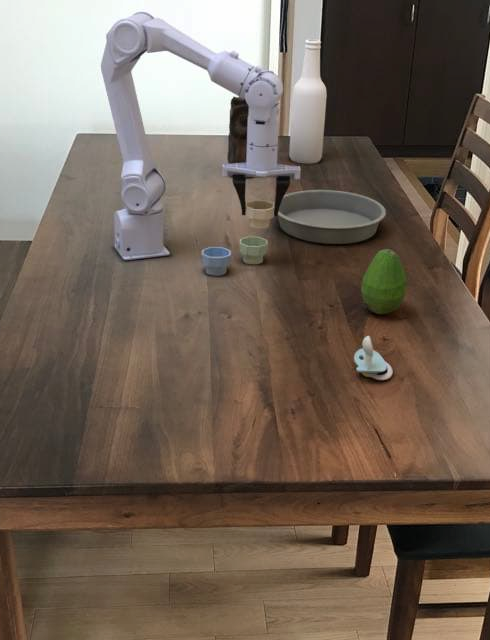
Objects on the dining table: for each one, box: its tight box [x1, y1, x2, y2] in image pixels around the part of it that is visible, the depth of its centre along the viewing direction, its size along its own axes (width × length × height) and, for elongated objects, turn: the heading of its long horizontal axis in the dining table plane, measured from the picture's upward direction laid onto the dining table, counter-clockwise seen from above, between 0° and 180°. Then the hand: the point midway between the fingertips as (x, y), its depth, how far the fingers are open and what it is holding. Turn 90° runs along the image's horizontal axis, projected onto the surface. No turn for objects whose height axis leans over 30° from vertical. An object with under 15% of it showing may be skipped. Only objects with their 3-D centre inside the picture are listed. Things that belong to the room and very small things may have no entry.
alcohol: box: [288, 38, 328, 165], centre depth 231 cm, size 9×9×30 cm
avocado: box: [360, 248, 408, 315], centre depth 157 cm, size 8×8×12 cm
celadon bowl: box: [238, 236, 269, 265], centre depth 177 cm, size 6×6×4 cm
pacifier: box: [353, 335, 394, 381], centre depth 139 cm, size 7×6×6 cm
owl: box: [227, 95, 254, 179], centre depth 222 cm, size 13×13×20 cm
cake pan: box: [273, 189, 387, 245], centre depth 195 cm, size 25×25×4 cm
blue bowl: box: [201, 246, 232, 277], centre depth 172 cm, size 6×6×4 cm
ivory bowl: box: [244, 199, 275, 230], centre depth 171 cm, size 6×6×4 cm
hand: (259, 214), depth 171 cm, fingers closed on ivory bowl, 5 cm apart
